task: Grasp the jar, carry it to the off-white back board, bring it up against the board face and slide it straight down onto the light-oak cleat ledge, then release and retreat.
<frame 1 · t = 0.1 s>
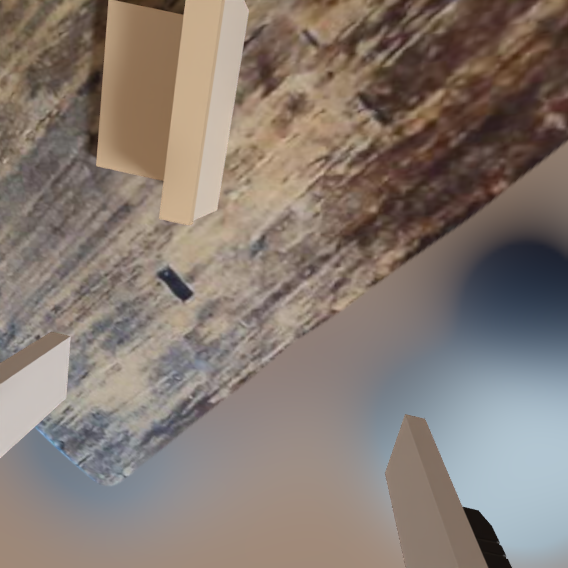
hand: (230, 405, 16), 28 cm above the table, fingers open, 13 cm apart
cleat board: (196, 109, 40), on the table
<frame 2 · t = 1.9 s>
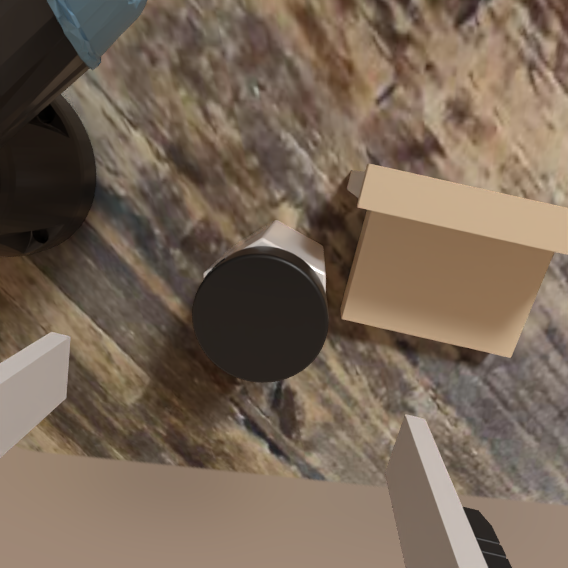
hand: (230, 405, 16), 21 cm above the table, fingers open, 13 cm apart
jar: (278, 271, 36), on the table
cleat board: (448, 237, 34), on the table
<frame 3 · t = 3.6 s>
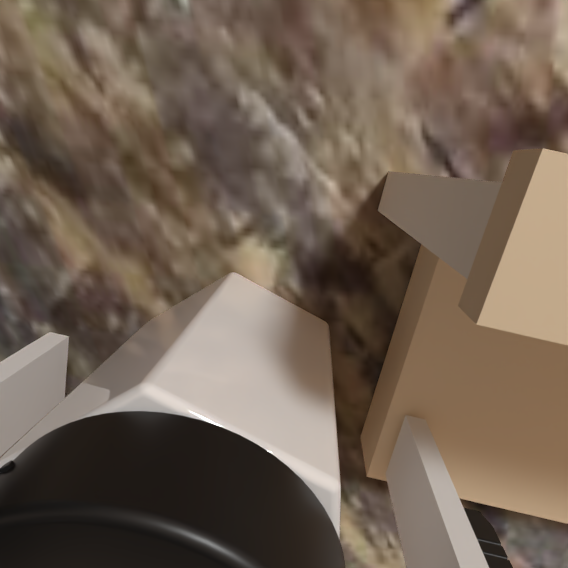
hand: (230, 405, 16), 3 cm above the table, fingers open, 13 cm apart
jar: (240, 366, 19), on the table
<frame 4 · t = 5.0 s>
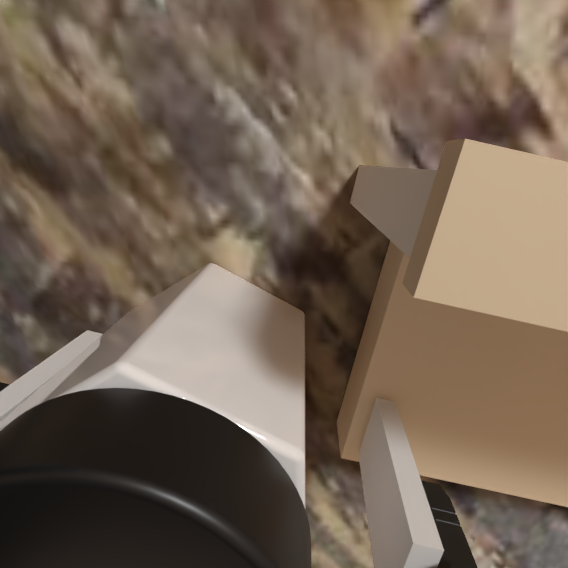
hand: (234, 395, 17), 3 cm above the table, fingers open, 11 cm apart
jar: (220, 355, 19), on the table, touching gripper
cleat board: (546, 297, 17), on the table
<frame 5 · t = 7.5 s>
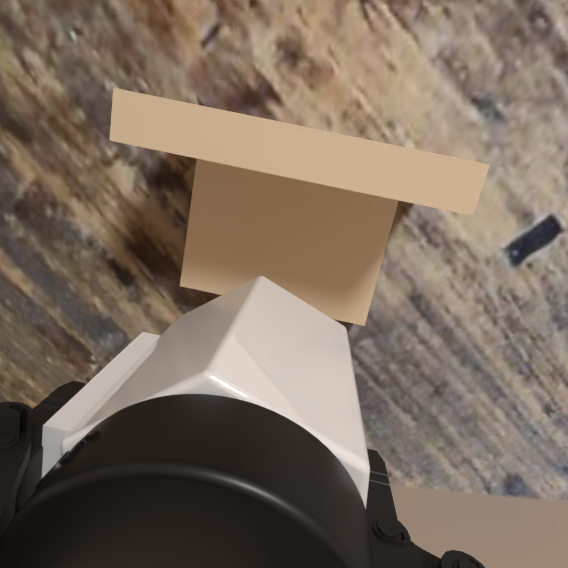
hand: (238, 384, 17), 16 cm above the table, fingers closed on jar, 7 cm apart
jar: (261, 363, 20), point 13 cm above the table, touching gripper
cleat board: (295, 195, 31), on the table
when the fingers open (5 cm above the table, at t = 10.0 s): jar stays where it is, resting on cleat board.
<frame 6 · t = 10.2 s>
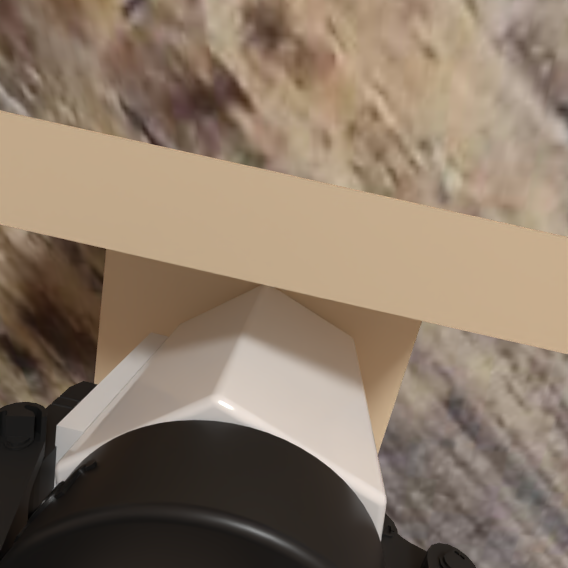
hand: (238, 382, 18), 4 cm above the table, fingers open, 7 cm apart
jar: (264, 373, 19), point 2 cm above the table, touching cleat board, gripper
cleat board: (273, 251, 20), on the table
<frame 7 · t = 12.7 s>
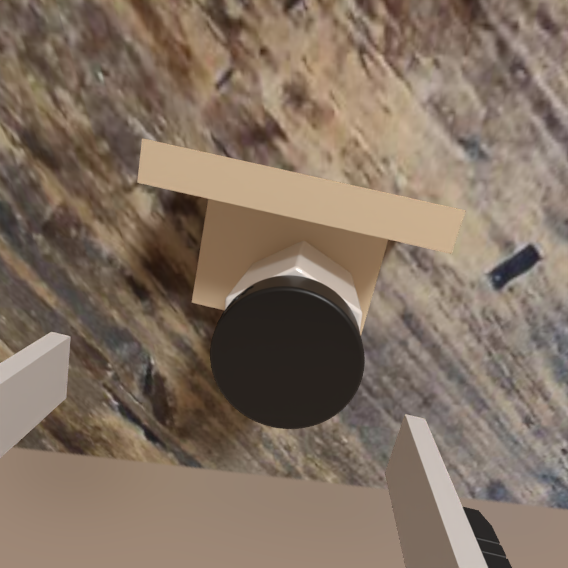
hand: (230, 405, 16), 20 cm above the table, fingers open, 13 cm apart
jar: (299, 295, 33), point 2 cm above the table, touching cleat board
cleat board: (298, 222, 34), on the table
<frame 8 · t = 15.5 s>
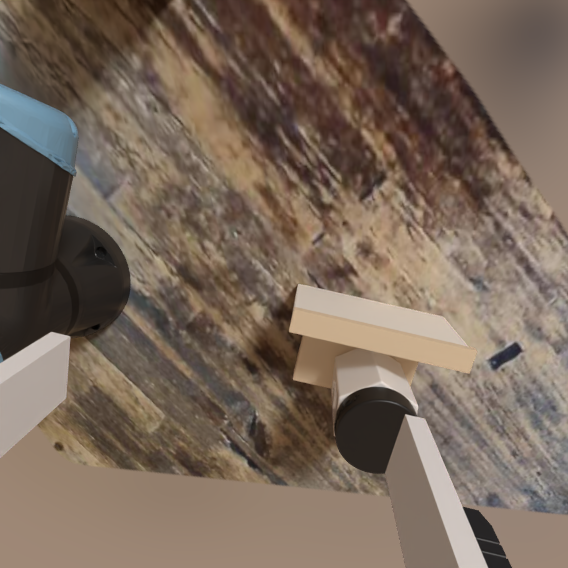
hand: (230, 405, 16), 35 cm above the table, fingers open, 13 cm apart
jar: (365, 375, 51), point 2 cm above the table, touching cleat board
cleat board: (363, 326, 51), on the table
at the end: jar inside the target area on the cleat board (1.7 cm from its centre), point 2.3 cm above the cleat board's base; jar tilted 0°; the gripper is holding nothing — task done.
